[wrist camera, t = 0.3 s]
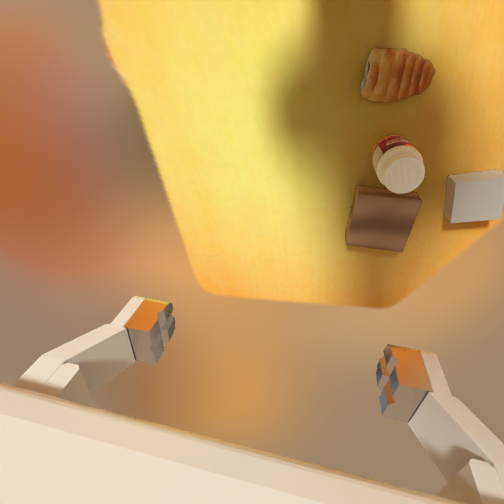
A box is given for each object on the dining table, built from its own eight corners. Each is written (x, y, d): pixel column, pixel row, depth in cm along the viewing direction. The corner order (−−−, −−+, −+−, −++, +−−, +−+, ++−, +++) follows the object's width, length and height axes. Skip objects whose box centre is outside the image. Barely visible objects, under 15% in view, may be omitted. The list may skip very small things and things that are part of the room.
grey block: (447, 175, 49) (455, 183, 46) (497, 168, 47) (510, 176, 44) (443, 213, 53) (450, 223, 49) (489, 208, 51) (500, 219, 47)
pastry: (438, 49, 41) (447, 48, 38) (421, 103, 45) (428, 106, 42) (367, 48, 43) (370, 47, 39) (357, 100, 46) (359, 103, 43)
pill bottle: (415, 134, 47) (437, 153, 38) (405, 173, 50) (422, 198, 41) (374, 133, 48) (385, 151, 39) (367, 171, 51) (375, 195, 42)
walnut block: (356, 185, 53) (358, 193, 50) (416, 192, 51) (422, 201, 48) (344, 233, 59) (345, 244, 55) (398, 241, 57) (402, 252, 54)
